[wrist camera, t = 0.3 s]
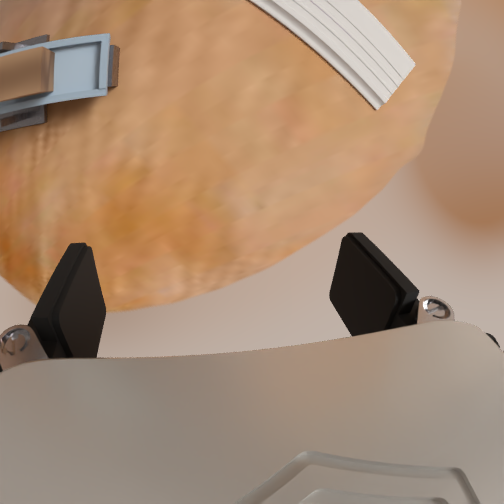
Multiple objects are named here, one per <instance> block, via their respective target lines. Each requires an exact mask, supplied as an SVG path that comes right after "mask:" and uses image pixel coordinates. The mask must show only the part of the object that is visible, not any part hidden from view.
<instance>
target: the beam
mask: <svg viewBox="0 0 504 504" xmlns="http://www.w3.org/2000/svg"><path fill="white" fill-rule="evenodd" d="M42 46H43V47H45V48H47V49H49V50H50V51H52V52H54V53H55V62H54V91H52V92H46V93H41V94H36V95H31V96H27V97H22V98H18V99H14V100H8V101H2V102H0V114H4V113H7V112H12V111H16V110H20V109H24V108H29V107H34V106H39V105H44V104H49V103H55V102H60V101H67V100H73V99H80V98H88V97H96V96H105V95H107V86H108V64H109V49H110V33H108V34H98V35H89V36H81V37H74V38H68V39H62V40H56V41H51V42H46V43H41V44H36V45H32V46H27V47H23V48H19V49H15V50H12V51H8V52H5V53H0V57H2V56H5V55H9V54H12V53H16V52H20V51H24V50H28V49H32V48H37V47H42Z"/></svg>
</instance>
